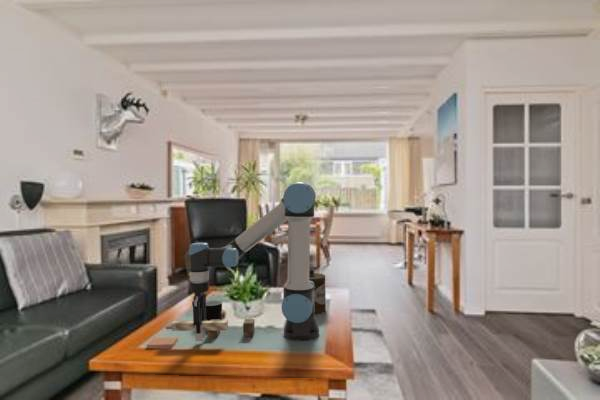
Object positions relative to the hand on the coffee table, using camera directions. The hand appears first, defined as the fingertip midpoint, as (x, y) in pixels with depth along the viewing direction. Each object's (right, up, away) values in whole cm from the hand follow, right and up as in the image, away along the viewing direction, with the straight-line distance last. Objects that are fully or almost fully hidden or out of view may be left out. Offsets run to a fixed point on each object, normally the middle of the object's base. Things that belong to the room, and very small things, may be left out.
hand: (200, 339), depth 163 cm
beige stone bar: (0, +4, 0) cm, 4 cm away
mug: (-1, -2, +26) cm, 26 cm away
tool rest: (+11, -2, +10) cm, 15 cm away
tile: (-10, -2, 0) cm, 10 cm away
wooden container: (+46, -1, +45) cm, 64 cm away
